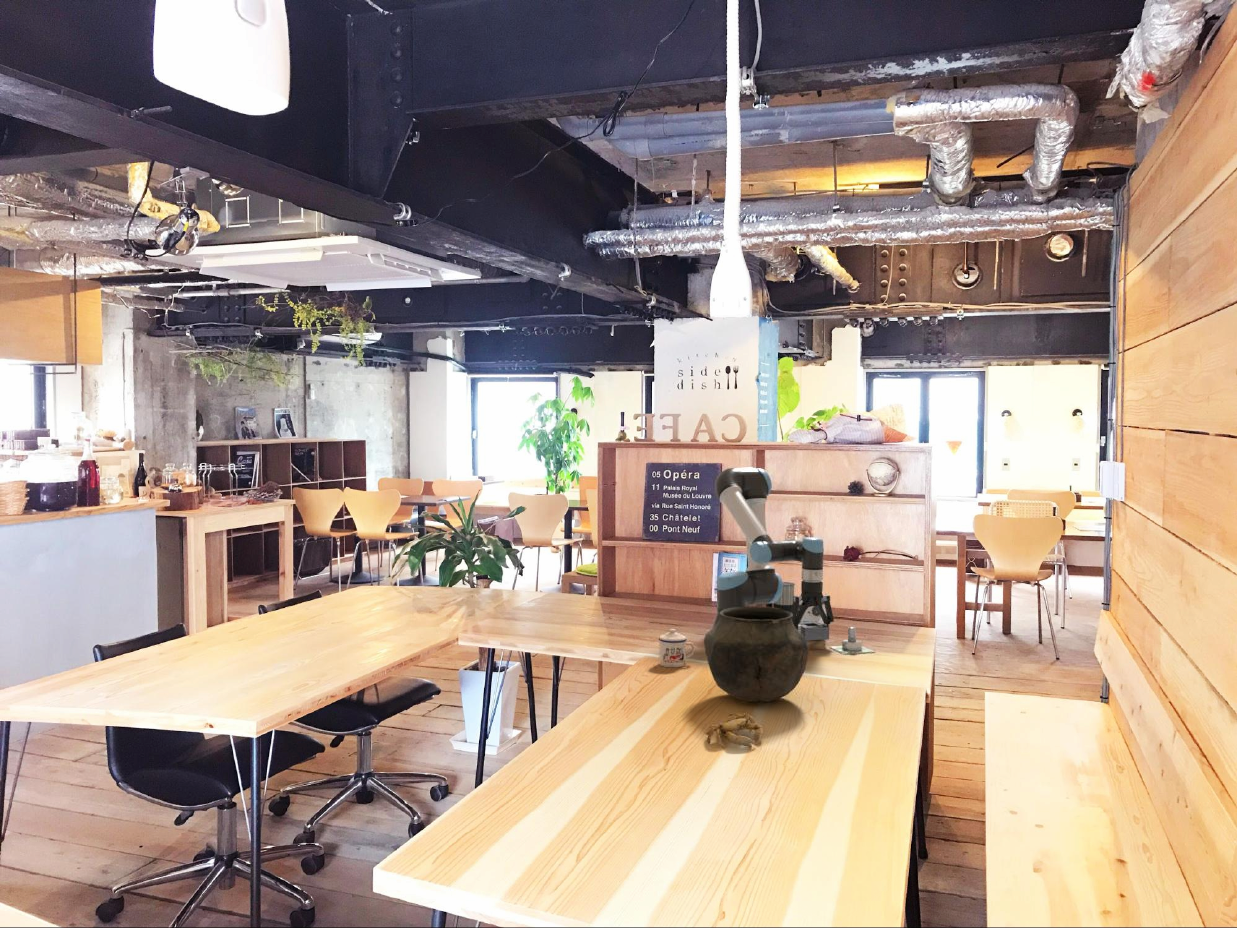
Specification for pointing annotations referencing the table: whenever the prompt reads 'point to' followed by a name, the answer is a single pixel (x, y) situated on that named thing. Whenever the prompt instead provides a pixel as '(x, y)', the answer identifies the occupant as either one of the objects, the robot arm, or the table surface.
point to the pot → (756, 653)
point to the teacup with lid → (673, 649)
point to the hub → (851, 644)
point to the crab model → (736, 725)
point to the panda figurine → (812, 613)
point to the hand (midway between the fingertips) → (810, 642)
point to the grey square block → (814, 631)
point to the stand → (815, 644)
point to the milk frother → (784, 598)
